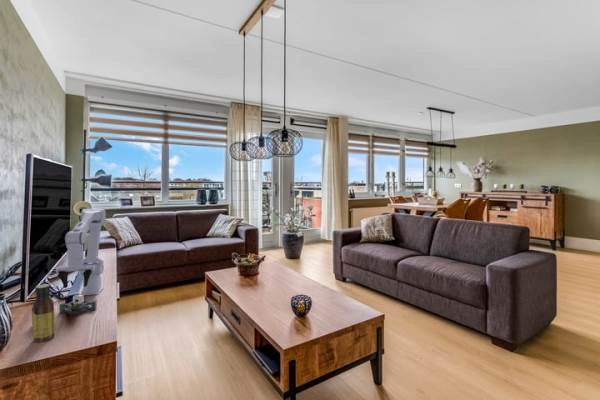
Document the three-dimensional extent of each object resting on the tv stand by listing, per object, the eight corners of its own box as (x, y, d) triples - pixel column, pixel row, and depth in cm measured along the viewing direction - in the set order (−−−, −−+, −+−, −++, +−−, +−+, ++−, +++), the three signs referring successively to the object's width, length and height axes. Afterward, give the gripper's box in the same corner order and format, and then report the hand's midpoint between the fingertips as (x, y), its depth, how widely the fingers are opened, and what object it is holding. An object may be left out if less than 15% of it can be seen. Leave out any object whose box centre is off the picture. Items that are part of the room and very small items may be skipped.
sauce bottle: (41, 334, 114) (41, 282, 113) (59, 334, 115) (59, 282, 114) (27, 343, 108) (26, 288, 107) (45, 343, 108) (45, 288, 107)
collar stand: (63, 309, 137) (63, 299, 137) (98, 306, 141) (98, 297, 141) (56, 316, 130) (56, 306, 130) (93, 312, 134) (93, 303, 134)
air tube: (74, 309, 137) (74, 294, 137) (85, 308, 138) (85, 293, 138) (71, 313, 133) (71, 297, 133) (81, 312, 134) (82, 296, 134)
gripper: (52, 260, 132) (52, 291, 133) (91, 258, 137) (91, 288, 138) (59, 256, 139) (59, 285, 139) (96, 255, 144) (96, 283, 144)
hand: (75, 286), depth 139 cm, fingers open, 7 cm apart
